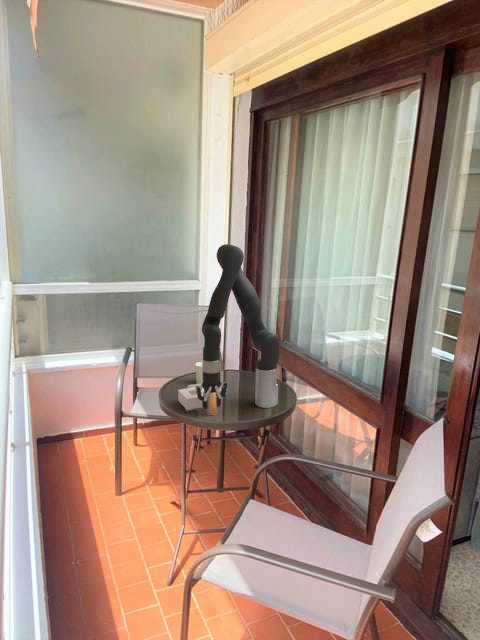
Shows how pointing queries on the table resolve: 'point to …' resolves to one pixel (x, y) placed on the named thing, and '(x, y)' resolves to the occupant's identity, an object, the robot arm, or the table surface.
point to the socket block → (190, 399)
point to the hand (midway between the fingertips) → (211, 407)
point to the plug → (211, 403)
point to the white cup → (199, 372)
